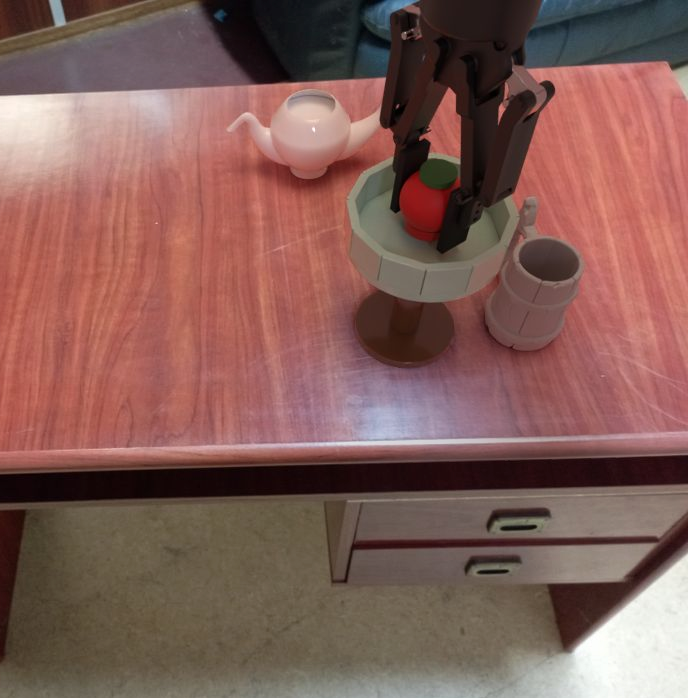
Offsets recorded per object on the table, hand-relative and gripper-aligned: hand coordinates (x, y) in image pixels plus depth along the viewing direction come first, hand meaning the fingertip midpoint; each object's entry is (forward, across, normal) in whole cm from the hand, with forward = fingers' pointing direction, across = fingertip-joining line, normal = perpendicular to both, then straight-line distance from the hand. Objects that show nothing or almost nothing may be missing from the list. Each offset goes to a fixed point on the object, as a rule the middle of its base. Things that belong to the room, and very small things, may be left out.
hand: (427, 224), depth 63 cm
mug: (+15, +5, +11) cm, 19 cm away
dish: (+15, 0, 0) cm, 15 cm away
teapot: (+15, -26, +7) cm, 31 cm away
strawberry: (0, 0, 0) cm, 0 cm away
